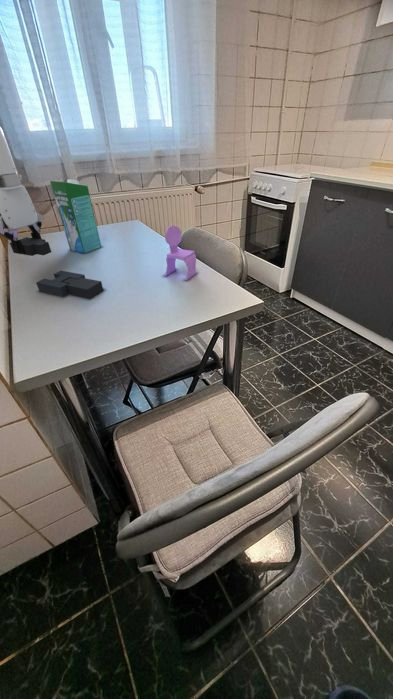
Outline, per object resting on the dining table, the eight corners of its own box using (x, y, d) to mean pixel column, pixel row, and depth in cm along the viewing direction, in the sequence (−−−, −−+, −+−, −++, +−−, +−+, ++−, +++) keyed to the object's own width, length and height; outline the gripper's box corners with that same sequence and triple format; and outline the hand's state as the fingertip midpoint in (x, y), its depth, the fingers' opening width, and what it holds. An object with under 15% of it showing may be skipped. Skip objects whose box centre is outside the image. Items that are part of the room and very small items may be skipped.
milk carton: (101, 247, 123) (86, 178, 107) (84, 253, 117) (65, 181, 102) (87, 243, 127) (70, 177, 112) (69, 249, 121) (49, 180, 106)
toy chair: (186, 282, 92) (183, 232, 83) (162, 277, 96) (157, 229, 86) (198, 272, 98) (197, 225, 89) (176, 268, 101) (173, 222, 92)
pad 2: (62, 292, 89) (58, 283, 87) (76, 284, 93) (73, 275, 91) (90, 299, 85) (87, 289, 83) (103, 290, 89) (101, 281, 87)
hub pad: (39, 291, 90) (35, 282, 88) (63, 278, 97) (60, 270, 95) (63, 297, 86) (60, 287, 85) (86, 283, 94) (84, 274, 92)
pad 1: (13, 253, 88) (9, 242, 86) (30, 246, 93) (26, 237, 91) (39, 257, 84) (35, 246, 82) (55, 250, 89) (52, 240, 87)
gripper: (22, 177, 85) (44, 240, 96) (-37, 186, 73) (-4, 258, 84) (40, 177, 83) (61, 242, 93) (-17, 187, 70) (14, 261, 81)
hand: (30, 249), depth 89 cm, fingers closed on pad 1, 6 cm apart
